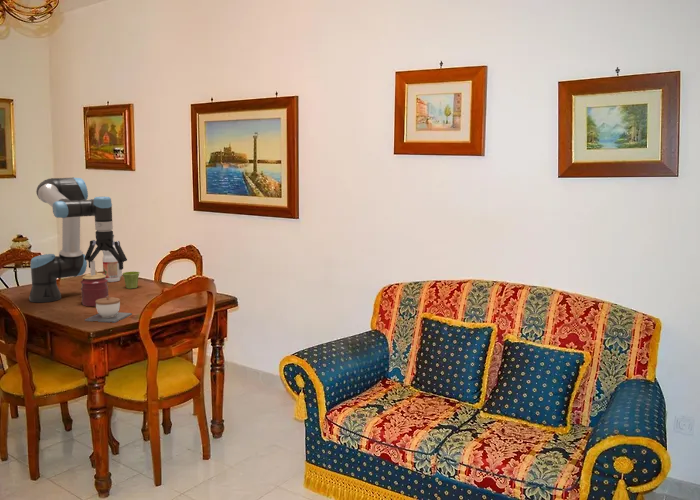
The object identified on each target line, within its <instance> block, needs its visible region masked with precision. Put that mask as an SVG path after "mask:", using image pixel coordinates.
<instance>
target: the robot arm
mask: <svg viewBox="0 0 700 500" xmlns="http://www.w3.org/2000/svg"><path fill="white" fill-rule="evenodd" d="M35 192H36V196H37V198H38V199H39V200H40V201H41V202H43V203H46V204H48V205H49V206H51V207H52V213H53V216H54V217H55V218H58V219H59V218H61V220H62V223H61V224H62V227H61V228H62V234H61V235H62V237H61V238H62V239H61V240H62V243H61V245H62V246H61V248H62V249H61V250H60V251H59V252H58V256H56V255H55V254H54V253H48V254H47V253H46V254H39V255H37V256H34V257H32V258H31V260H30V273H31V290H30V293H29V296H28V298H29V299H28V300H29V302H30V303H49V302H55V301H59V300H61V299H62V293H61V291H60V289H59V286H58V283H57V279H63V278H73V277H79V276H80V277H81V276H83V275H84V274H86V271H87V266H88V268H89V269H90V273H91V276H93V275H96V273H95V270H96V261H95V259H96V257H97V256H98V255H99V253H100V252H103V250H105V251H109V252H111V254H112V255H113V256H114V257H115V258H116V260H117V261H118V263H117V276H118V277H120V278H121V277H122V276H123V274H122V273H123V269H124V262H127V261H128V258H127V256H126V254H125V252H124V250H123V248H122V245H121V242H120V240H116V241H115V242H113V235H114V231H113V230H114V229H113V227H114V226H113V204H112V198H111V197H110V196H95V197H94V198H92V199H91V198H90V199H88V197H89V192H88V188H87V184H86V182H85V180H84V179H83V178H81V177H51V178H47V179H44V180H43V181H41V182H40V183H39V184H38V186H37V187H36V191H35ZM82 217H94V227H95V228H94V229H95V230H96V231H95V232H94V233H95V239H92V240H90V241H89V245H88V247H87V251H86V253H85V254H84V251H82V249H81V218H82ZM113 245H114V246H115V248H116V250H117V252H118V253H117V252H116V250H115V248H114V247H113ZM95 246H97V247H95ZM94 249H95V250H94Z"/></svg>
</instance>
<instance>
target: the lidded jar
mask: <svg viewBox="0 0 700 500" xmlns="http://www.w3.org/2000/svg"><path fill="white" fill-rule="evenodd" d="M95 302H96V306H95V308H96V311H97V314H98V313H99V314H100V315H101V316H102V317H103V318H110V317H114V316H116V314H117V313H118V312H119V311H120V308H121V299H120V298H119V297H110V295H108V296H107V297H106V298H101V299H98V300H96V301H95Z"/></svg>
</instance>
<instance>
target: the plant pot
mask: <svg viewBox="0 0 700 500" xmlns="http://www.w3.org/2000/svg"><path fill="white" fill-rule="evenodd" d="M140 273H141V272H139V271H125V272H122V276H123V279H124V284H125V288H126V289H129V290H131V289H137V288H138V284H139V276H140Z"/></svg>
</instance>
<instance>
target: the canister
mask: <svg viewBox="0 0 700 500" xmlns="http://www.w3.org/2000/svg"><path fill="white" fill-rule="evenodd" d="M95 273H96V275H93V276H91V272H90V273H85V275H84V276H83V275H82V280H81V281H80V284H81V288H80V289H81V303H82V306H86V307H96V302H95V301H96V300H98V299H101V298H106V297H107V296H109V286H108V283H109V282H108V280H107V279H106V278H105V277H106V275H104V274H103V273H102V272H97V270H96V269H95Z"/></svg>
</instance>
